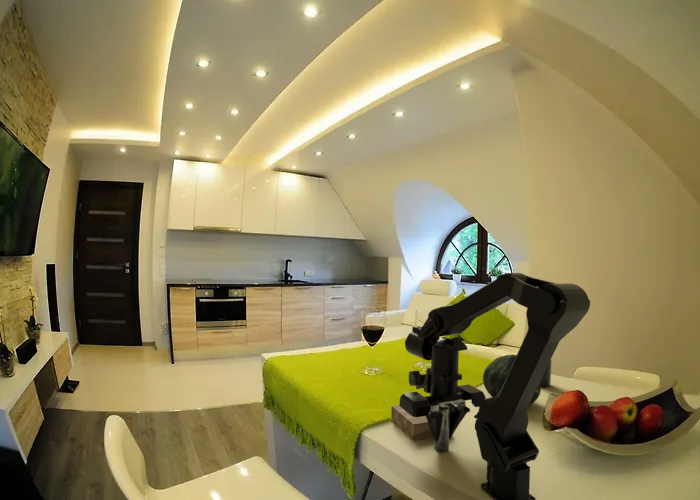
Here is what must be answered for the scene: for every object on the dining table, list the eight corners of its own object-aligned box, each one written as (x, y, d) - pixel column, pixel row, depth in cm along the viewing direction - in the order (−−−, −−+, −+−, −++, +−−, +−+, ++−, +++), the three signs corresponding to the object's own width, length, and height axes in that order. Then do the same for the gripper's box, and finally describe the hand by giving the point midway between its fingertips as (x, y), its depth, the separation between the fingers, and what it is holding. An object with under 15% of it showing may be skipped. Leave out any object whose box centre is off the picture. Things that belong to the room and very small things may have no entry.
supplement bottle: (529, 386, 115) (530, 349, 115) (525, 379, 122) (526, 344, 122) (553, 389, 113) (554, 351, 113) (547, 382, 120) (549, 346, 120)
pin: (451, 451, 75) (453, 408, 75) (440, 453, 74) (441, 410, 74) (442, 443, 78) (444, 403, 78) (431, 446, 77) (433, 404, 77)
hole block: (449, 432, 83) (449, 417, 83) (412, 440, 79) (413, 424, 79) (424, 414, 92) (425, 400, 92) (391, 419, 88) (391, 405, 88)
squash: (499, 369, 115) (489, 339, 107) (550, 384, 104) (542, 352, 97) (483, 407, 107) (470, 378, 100) (536, 427, 97) (526, 396, 89)
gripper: (454, 353, 87) (452, 416, 87) (388, 359, 80) (385, 428, 80) (488, 367, 77) (486, 439, 77) (415, 375, 70) (412, 455, 70)
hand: (441, 439), depth 76 cm, fingers closed on pin, 3 cm apart
